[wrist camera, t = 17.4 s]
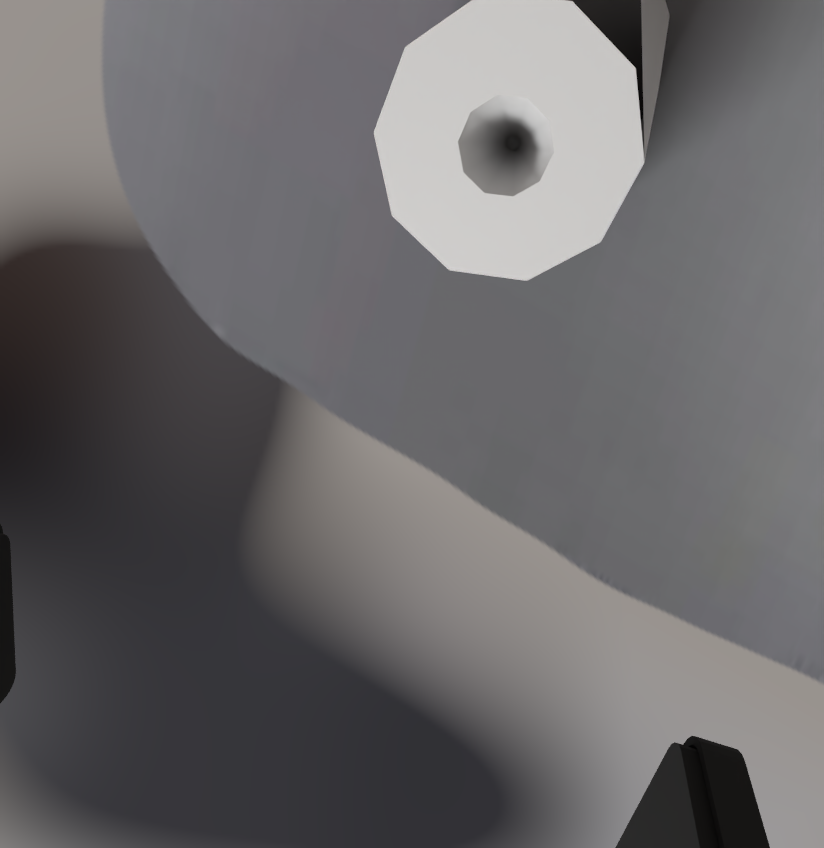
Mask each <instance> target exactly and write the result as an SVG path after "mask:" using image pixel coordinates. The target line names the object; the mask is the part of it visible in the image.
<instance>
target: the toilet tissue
mask: <svg viewBox="0 0 824 848" xmlns="http://www.w3.org/2000/svg"><path fill="white" fill-rule="evenodd" d="M669 17H670V15H669V11H668V8H667V4H666V1H665V0H641V19H642V67H643V115H644V117H643V118H642V120H641V119H640V108H639V97H638V87H637V76H636V68H635V67H634V66H633V65H632V64H631V63H630V62H629V60H628V59H627V58H626V57H625V56H624V55H623V54H622V53H621V52H620V51H619V50H618V49H617V48H616V47H615V46H614V45H613V44H612V43H611V41H610V40H609V39H608V38H607V37H606V36H605V35H604V34H603V33H602V32H601V31H600V30H599V29H598V28H597V27H596V26H595V25H594V23H593V22H592V21H591V20H590V19H589V18H588V17H587V16H586V15H585V14H584V13H583V12H582V11H581V10H580V9H579V8H578V7H577V6H576V4H575V3H574V2H573V1H566V0H472V1H470V2H469V3H467V4H466V5H464V6H463V7H462V8H460V9H459V10H457V11H456V12H454V13H453V14H452V15H450V16H449V17H447V18H446V19H444V20H443V21H442V22H440V23H439V24H437V25H436V26H435V27H433V28H432V29H430V30H429V31H427V32H426V33H425V34H423V35H422V36H420V37H419V38H417V39H416V40H415V41H413V42H412V43H410V44H409V45H407V46H406V47H405V49H404V52H403V55H402V57H401V60H400V63H399V65H398V68H397V71H396V74H395V76H394V79H393V82H392V84H391V87H390V90H389V93H388V95H387V98H386V101H385V103H384V106H383V109H382V111H381V114H380V117H379V120H378V122H377V125H376V128H375V130H374V136H375V141H376V145H377V150H378V154H379V159H380V163H381V168H382V172H383V177H384V182H385V186H386V191H387V195H388V200H389V204H390V209H391V214H392V216H393V217H394V218H395V219H396V220H397V221H398V222H399V223H400V224H401V225H402V226H403V227H404V228H405V229H407V230H408V231H409V232H410V233H411V234H412V235H413V236H414V237H415V238H416V239H417V240H418V241H419V242H420V243H421V244H422V245H423V246H424V247H425V248H426V249H427V250H429V251H430V252H431V253H432V254H433V255H434V256H435V257H436V258H437V259H438V260H439V261H440V262H441V263H442V264H443V265H444V266H445V267H446V268H447V269H448V270H452V271H459V272H466V273H474V274H481V275H488V276H496V277H503V278H510V279H518V280H525V281H527V280H529V279H531V278H533V277H535V276H537V275H539V274H540V273H542V272H544V271H546V270H548V269H550V268H552V267H554V266H556V265H558V264H560V263H561V262H563V261H565V260H567V259H569V258H571V257H573V256H575V255H577V254H579V253H581V252H583V251H584V250H586V249H588V248H590V247H592V246H594V245H596V244H598V243H600V242H601V240H602V239H603V237H604V235H605V233H606V231H607V230H608V228H609V226H610V224H611V222H612V220H613V219H614V217H615V215H616V213H617V211H618V210H619V208H620V206H621V204H622V202H623V200H624V199H625V197H626V195H627V193H628V191H629V190H630V188H631V186H632V184H633V182H634V180H635V179H636V177H637V175H638V173H639V171H640V170H641V168H642V166H643V164H644V162H645V157H646V152H647V147H648V142H649V136H650V131H651V126H652V121H653V116H654V111H655V105H656V100H657V95H658V90H659V84H660V77H661V71H662V64H663V57H664V50H665V44H666V37H667V30H668V23H669Z"/></svg>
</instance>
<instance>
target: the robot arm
mask: <svg viewBox="0 0 824 848" xmlns="http://www.w3.org/2000/svg"><path fill="white" fill-rule="evenodd" d="M15 674H16V667H15V646H14V622H13V599H12V575H11V553H10V541H9V538H8V536H7V535H5V534H3V530H2V526H1V525H0V703H1V702H2V701H3V700H4V698H5V697H6V696H7V694H8V693H9V691H10V689H11V687H12V685H13V683H14V679H15ZM616 848H770V847H769V843H768V840H767V836H766V833H765V829H764V826H763V822H762V819H761V816H760V812H759V809H758V805H757V802H756V799H755V795H754V792H753V788H752V784H751V781H750V777H749V775H748V771H747V767H746V764H745V761H744V758H743V756H742V754H741V753H740V752H739V751H738V750H737V749H734V748H731V747H728V746H724V745H721V744H718V743H714V742H711V741H708V740H705V739H702V738H699V737H695V736H691V737H690V738H688V739H687V740H686V742H685V743H684V745H681V744H678V743H673V744H671V746H670V747H669V749H668V750H667V753H666V754H665V756H664V758H663V760H662V762H661V764H660V765H659V768H658V769H657V771H656V773H655V775H654V777H653V778H652V780H651V782H650V785H649V786H648V788H647V790H646V792H645V793H644V795H643V797H642V799H641V801H640V803H639V805H638V807H637V809H636V810H635V812H634V814H633V816H632V818H631V820H630V822H629V823H628V825H627V827H626V829H625V831H624V833H623V835H622V837H621V838H620V841H619V842H618V844H617V846H616Z"/></svg>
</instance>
